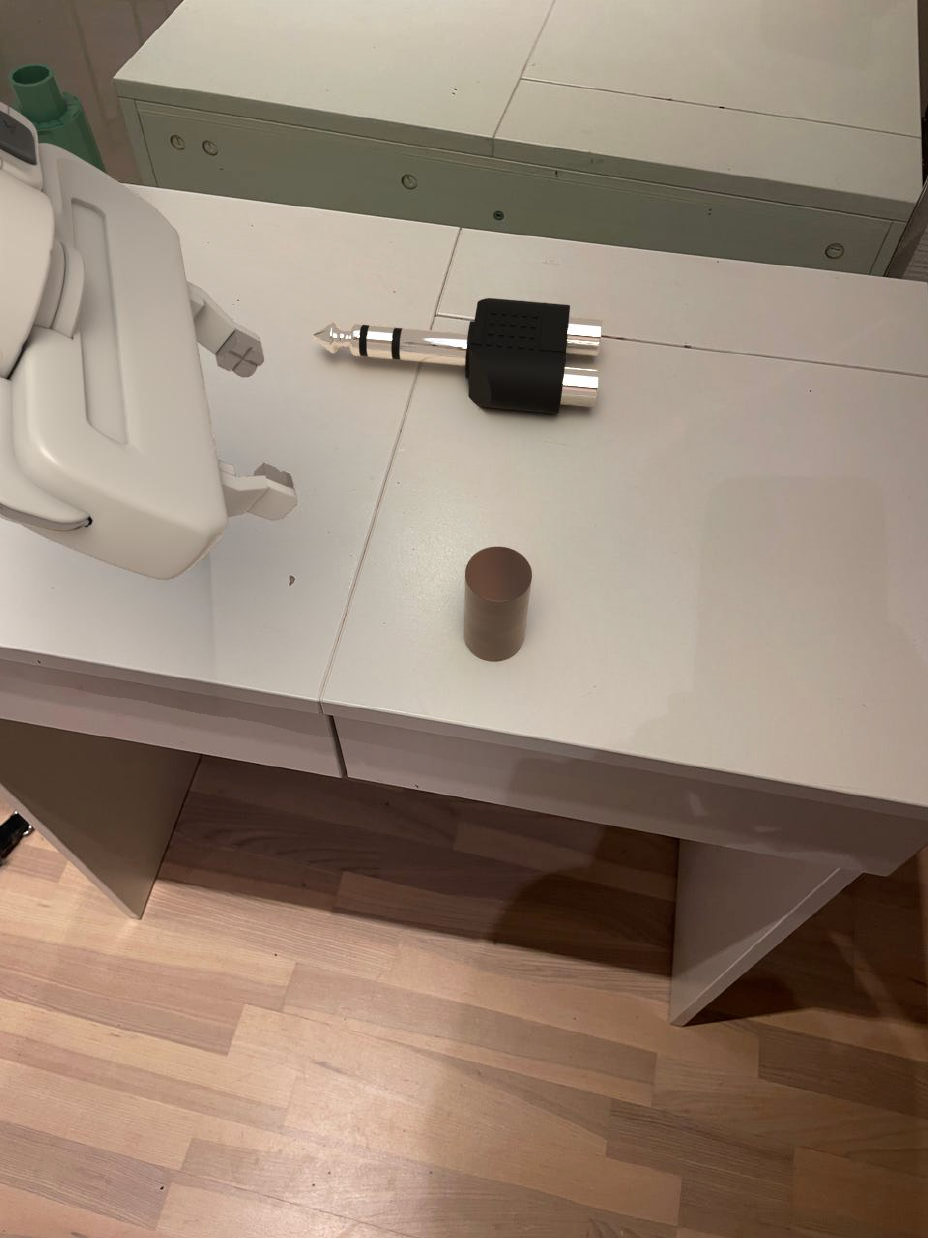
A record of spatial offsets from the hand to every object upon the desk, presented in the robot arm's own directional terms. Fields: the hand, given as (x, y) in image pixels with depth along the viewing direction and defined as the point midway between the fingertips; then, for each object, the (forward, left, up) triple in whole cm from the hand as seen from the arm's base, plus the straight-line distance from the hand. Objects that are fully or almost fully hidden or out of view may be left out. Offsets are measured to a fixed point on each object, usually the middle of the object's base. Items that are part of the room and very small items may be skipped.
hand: (270, 425), depth 42 cm
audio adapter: (+14, +28, -24) cm, 40 cm away
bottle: (-18, +54, -24) cm, 62 cm away
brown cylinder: (+12, 0, -24) cm, 27 cm away
